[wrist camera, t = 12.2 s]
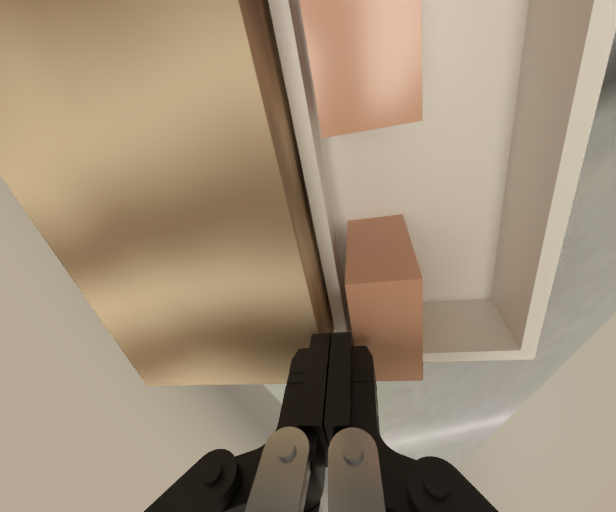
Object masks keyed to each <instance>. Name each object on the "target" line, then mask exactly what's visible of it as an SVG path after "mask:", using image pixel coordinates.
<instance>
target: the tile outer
mask: <svg viewBox="0 0 616 512" xmlns="http://www.w3.org/2000/svg"><path fill="white" fill-rule="evenodd" d="M345 289H346V295H347V302H348V308H349V315H350V321H351V328H352V334H353V341H354V346H367V348H368V349H369V351H370V353H371V355H372V356H373V362H374V370H375V377H376V381H408V380H423V278H422V275H421V271H420V268H419V265H418V262H417V258H416V255H415V252H414V249H413V246H412V242H411V239H410V236H409V233H408V230H407V226H406V223H405V220H404V217H403V214H401V215H392V216H383V217H375V218H366V219H357V220H348V223H347V246H346V269H345Z"/></svg>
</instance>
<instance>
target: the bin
mask: <svg viewBox="0 0 616 512" xmlns="http://www.w3.org/2000/svg"><path fill="white" fill-rule="evenodd" d="M268 2H269V7H270V12H271V17H272V22H273V27H274V32H275V37H276V42H277V47H278V52H279V57H280V61H281V66H282V71H283V76H284V81H285V86H286V91H287V96H288V101H289V106H290V111H291V116H292V121H293V126H294V131H295V135H296V140H297V145H298V150H299V155H300V160H301V165H302V170H303V175H304V180H305V185H306V190H307V195H308V200H309V204H310V209H311V214H312V219H313V224H314V229H315V234H316V239H317V244H318V249H319V254H320V259H321V264H322V269H323V273H324V278H325V283H326V288H327V293H328V298H329V303H330V308H331V313H332V318H333V323H334V328H335V333H336V332H352V328H351V321H350V315H349V308H348V302H347V295H346V289H345V269H346V246H347V223H348V220H357V219H366V218H375V217H383V216H392V215H401V214H403V217H404V220H405V223H406V226H407V230H408V233H409V236H410V239H411V242H412V246H413V249H414V252H415V255H416V258H417V262H418V265H419V268H420V271H421V275H422V278H423V363H425V362H461V361H497V360H534V359H535V355H536V351H537V347H538V342H539V338H540V334H541V330H542V326H543V322H544V318H545V314H546V310H547V306H548V302H549V298H550V294H551V290H552V286H553V282H554V278H555V274H556V270H557V265H558V261H559V257H560V253H561V249H562V245H563V241H564V237H565V233H566V229H567V225H568V221H569V217H570V213H571V209H572V205H573V201H574V197H575V193H576V189H577V184H578V180H579V176H580V172H581V168H582V164H583V160H584V156H585V152H586V148H587V144H588V140H589V136H590V132H591V128H592V124H593V120H594V116H595V112H596V108H597V103H598V99H599V95H600V91H601V87H602V83H603V79H604V75H605V71H606V67H607V63H608V59H609V55H610V51H611V47H612V43H613V39H614V35H615V31H616V0H422V121H418V122H412V123H406V124H401V125H395V126H389V127H384V128H378V129H372V130H367V131H361V132H356V133H350V134H344V135H339V136H333V137H327V138H322V137H321V131H320V125H319V118H318V112H317V106H316V100H315V94H314V88H313V82H312V75H311V69H310V63H309V57H308V51H307V45H306V39H305V32H304V26H303V20H302V14H301V8H300V2H299V0H268ZM352 336H353V334H352ZM353 342H354V341H353Z"/></svg>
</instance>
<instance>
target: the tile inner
mask: <svg viewBox="0 0 616 512" xmlns="http://www.w3.org/2000/svg"><path fill="white" fill-rule="evenodd" d="M299 2H300V8H301V14H302V20H303V26H304V32H305V39H306V45H307V51H308V57H309V63H310V69H311V75H312V82H313V88H314V94H315V100H316V106H317V112H318V118H319V125H320V131H321V137H322V138H327V137H333V136H339V135H344V134H350V133H356V132H361V131H367V130H372V129H378V128H384V127H389V126H395V125H401V124H406V123H412V122H418V121H422V0H299Z"/></svg>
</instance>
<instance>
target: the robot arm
mask: <svg viewBox="0 0 616 512" xmlns="http://www.w3.org/2000/svg"><path fill="white" fill-rule="evenodd" d="M325 467H328V512H498V511H497V510H496V509H495V508H494V507H493V506H492V505H491V504H490V503H489V502H488V501H487V500H486V499H485V497H484V496H483V495H481V494H480V492H479V491H477V490H476V488H475V487H474V486H473V485H472V484H471V483H469V481H468V480H467V479H466V478H465V477H464V476H463V475H462V474H461V473H460V472H459V471H458V470H457V469H456V468H455V467H454V466H453V465H451V464H450V463H449V462H447V461H445V460H443V459H441V458H438V457H432V456H430V457H423V458H420V459H418V460H414V459H412V458H409V457H406V456H404V455H401V454H399V453H397V452H395V451H393V450H392V449H390V448H389V447H388V446H387V445H386V444H385V443H384V441H383V440H382V438H381V436H380V431H379V416H378V401H377V387H376V377H375V370H374V362H373V356H372V355H371V353H370V351H369V349H368V348H367V346H354V342H353V336H352V332H336V333H317V334H312V335H311V340H310V346H309V348H299V349H298V351H297V352H296V354H295V355H294V357H293V358H292V360H291V365H290V370H289V375H288V379H287V385H286V389H285V393H284V398H283V403H282V408H281V413H280V418H279V422H278V426H277V429H276V431H275V432H274V433H273V434H272V435H271V436H270V437H269V439H268V440H267V442H266V444H264V445H263V446H262V447H260V448H258V449H256V450H253V451H250V452H247V453H244V454H241V455H239V456H235V457H234V455H233V454H232V453H231V452H230V451H227V450H225V449H216V450H213V451H211V452H209V453H207V454H206V455H204V456H203V457H202V458H201V459H200V460H199V461H198V462H197V463H196V464H194V465H193V466H192V467H191V468H190V469H189V470H188V471H187V472H186V473H185V474H184V475H183V476H182V477H180V478H179V479H178V480H177V481H176V482H175V483H174V484H173V485H172V486H171V487H170V488H169V489H168V490H167V491H165V492H164V493H163V494H162V495H161V496H160V497H159V498H158V499H157V500H156V501H155V502H154V503H153V504H151V505H150V506H149V507H148V508H147V509H146V510H145V511H144V512H323V506H324V498H325V490H324V480H325V479H324V478H325Z"/></svg>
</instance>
